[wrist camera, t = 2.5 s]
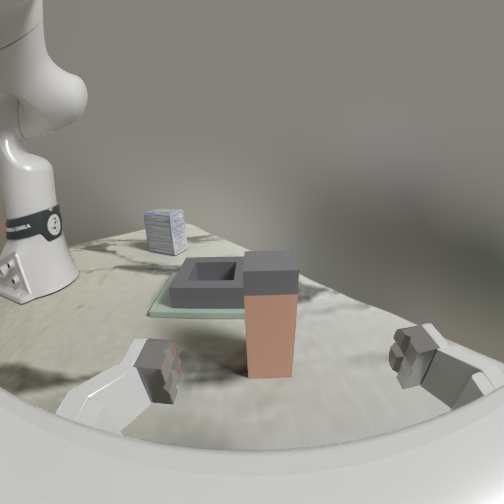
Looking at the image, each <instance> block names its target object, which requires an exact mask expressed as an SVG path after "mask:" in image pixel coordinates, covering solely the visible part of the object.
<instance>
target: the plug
mask: <svg viewBox="0 0 504 504" xmlns="http://www.w3.org/2000/svg"><path fill="white" fill-rule="evenodd" d="M298 278H299V269H298V266H297V263H296V261H295V258H294V255H293V252H292V251H249V252H245V255H244V265H243V285H244V306H245V326H246V345H247V364H248V378H275V377H291V375H292V365H293V353H294V341H295V328H296V313H297V297H298Z"/></svg>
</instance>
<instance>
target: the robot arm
mask: <svg viewBox="0 0 504 504" xmlns="http://www.w3.org/2000/svg"><path fill="white" fill-rule="evenodd" d="M86 104H87V89H86V86H85V84H84V82H83V81H82V80H81V79H80V78H79V77H78V76H76V75H72V74H70V73H67V72H65V71H63V70H62V69H61V68H59V67H58V66H57V65H56V64H55V63H54V62H53V61H52V60H51V58H50V57H49V55H48V53H47V51H46V46H45V41H44V33H43V3H42V0H0V179H1V183H2V189H3V194H4V200H5V205H6V212H7V217H8V219H7V222H6V223H5V224H3V225H2V226H5V225H6V227H5V228H4V229H3V230H6V238H7V239H8V240H7V242H6V244H5V246H4V248H3V251H2V253H1V255H0V278H1V281H0V295H2V296H4V297H6V298H8V299H11V300H13V301H15V302H17V303H20V304H23V303H26V302H28V301H30V300H32V299H34V298H37V297H41V296H45V295H48V294H51V293H53V292H55V291H58V290H60V289H62V288H63V287H65V286H67V285H68V284H70V283H71V282H72V281H73V280H74V279H75V278H76V277H77V276H78V274H79V270H78V269H77V267H76V265H75V263H74V260H73V259H72V256H71V254H70V251H69V248H68V246H67V243H66V240H65V237H64V234H63V231H62V218H61V211H60V207H59V205H58V204H57V202H56V193H55V185H54V175H53V169H52V166H51V164H50V163H49V162H48V161H47V160H46V159H44V158H42V157H39V156H36V155H32V154H29V153H28V152H27V150H26V148H25V140H26V139H28V138H32V137H35V136H39V135H43V134H47V133H51V132H55V131H58V130H60V129H62V128H65V127H67V126H69V125H72V124H74V123H76V122H77V121H78V120H79V119H80V118H81V116H82V114H83V112H84V110H85V108H86ZM394 340H395V343H394V344H393V345H392V346H391V348H390V352H389V362H390V366H391V368H392V370H394V371H396V372H397V373H398V375H397V379H398V381H399V383H400V385H401V387H402V389H406V388H410V387H414V386H418V385H421V386H422V387H423V388H424V389H426V390H427V391H428V392H430V393H431V394H432V395H434V396H435V397H437V398H438V399H439V400H441V401H442V402H443V403H445V404H446V405H448V406H449V407H450V408H452V409H451V411H450V412H447V413H445V414H442V415H440V416H437V417H434V418H432V419H429V420H426V421H423V422H421V423H418V424H415V425H411V426H408V427H405V428H402V429H398V430H395V431H391V432H388V433H384V434H380V435H376V436H372V437H367V438H363V439H358V440H353V441H347V442H342V443H336V444H329V445H322V446H314V447H305V448H294V449H280V450H220V449H205V448H194V447H185V446H177V445H170V444H163V443H157V442H152V441H146V440H141V439H136V438H132V437H127V436H124V435H123V433H122V432H121V430H122V429H123V428H125V427H126V426H127V425H128V424H129V423H130V422H131V421H133V420H134V419H135V418H136V417H137V416H138V415H139V414H140V413H142V412H143V411H144V410H145V409H146V408H147V407H148V406H149V405H150V404H152V403H151V402H153V403H163V404H174V401H175V398H176V394H177V388H176V385H177V384H178V383H180V381H181V377H182V363H181V359H180V358H179V357H178V356H177V355H176V353H177V351H178V348H177V344H176V342H175V341H173V340H160V339H148V338H135V339H134V340H133V342H132V344H131V346H130V347H129V349H128V351H127V352H126V354H125V356H124V358H123V359H122V361H121V363H120V365H117V364H116V365H114V366H112V367H111V368H109V369H107V370H105V371H104V372H102V373H100V374H98V375H97V376H95V377H93V378H91V379H89V380H88V381H86V382H84V383H82V384H81V385H79V386H77V387H75V388H73V389H72V390H70V391H68V393H67V394H66V396H65V398H64V399H63V401H62V402H61V404H60V406H59V407H58V409H57V411H56V412H55V414H54V413H52V412H49V411H47V410H45V409H42V408H40V407H38V406H36V405H33V404H31V403H29V402H27V401H25V400H23V399H21V398H19V397H17V396H15V395H13V394H11V393H9V392H8V391H6V390H4V389H2V388H1V387H0V504H504V374H503V373H502V372H501V371H500V369H499V368H498V367H497V366H496V364H494V363H492V362H489V361H487V360H485V359H483V358H480V357H478V356H476V355H474V354H471V353H469V352H467V351H465V350H462V349H460V348H458V347H456V346H453V345H451V346H450V345H449V344H448V343H447V342H446V341H445V339H444V338H443V337H442V336H441V335H440V333H439V332H438V331H437V330H436V329H435V328H434V326H433V325H432V324H430V323H427V324H422V325H418V326H414V327H408V328H402V329H397V331H396V332H395V335H394Z"/></svg>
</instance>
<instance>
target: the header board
mask: <svg viewBox="0 0 504 504" xmlns="http://www.w3.org/2000/svg"><path fill="white" fill-rule="evenodd" d="M243 265H244V257H199V258H186V259H185V261H184V263H183V264H182V266H181V268H180V269H179V271H178V273H172V275H171V276H170V278H169V279H168V281H167V283H166V284H165V286H164V287H163V289H162V291H161V292H160V294H159V296H158V297H157V299H156V301H155V302H154V304H153V305H152V307H151V309H150V310H149V314H150V317H166V318H200V319H245V306H244V285H243Z"/></svg>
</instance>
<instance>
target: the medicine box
mask: <svg viewBox="0 0 504 504" xmlns="http://www.w3.org/2000/svg"><path fill="white" fill-rule="evenodd" d="M144 221H145V228H146V235H147V242H148V248H149V251H151V252H157V253H163V254H169V255H174V256H176V255H178V254H180V253H182V252H183V251H185V250H187V249H188V247H187V239H186V231H185V222H184V213H183V210H174V209H173V210H172V209H155V210H152V211H149V212H146V213H145V214H144Z"/></svg>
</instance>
